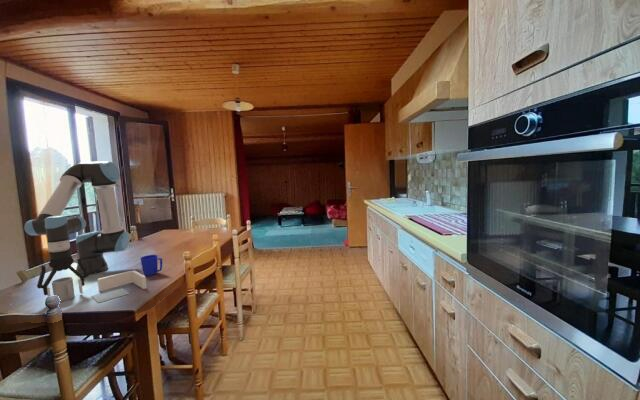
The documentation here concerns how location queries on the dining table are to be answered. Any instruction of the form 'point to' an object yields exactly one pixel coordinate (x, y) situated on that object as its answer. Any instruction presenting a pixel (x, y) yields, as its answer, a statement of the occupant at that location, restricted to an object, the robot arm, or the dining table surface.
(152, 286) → the dining table surface
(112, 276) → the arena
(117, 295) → the pad
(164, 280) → the dining table surface
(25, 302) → the dining table surface
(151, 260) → the mug
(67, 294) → the cup
